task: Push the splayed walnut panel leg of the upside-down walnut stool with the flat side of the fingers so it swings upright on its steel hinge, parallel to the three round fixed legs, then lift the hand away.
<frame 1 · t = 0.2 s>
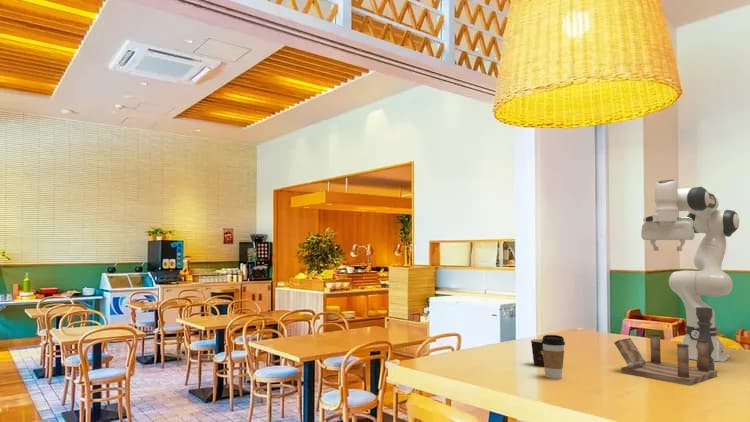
hand: (667, 250, 236), 48 cm above the table, fingers open, 8 cm apart
stool: (668, 374, 218), on the table
hinged leg: (630, 353, 223), point 7 cm above the table, hinge at 35.0°
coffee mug: (545, 366, 231), on the table
coffee cup: (553, 377, 210), on the table
candle holder: (705, 371, 225), on the table
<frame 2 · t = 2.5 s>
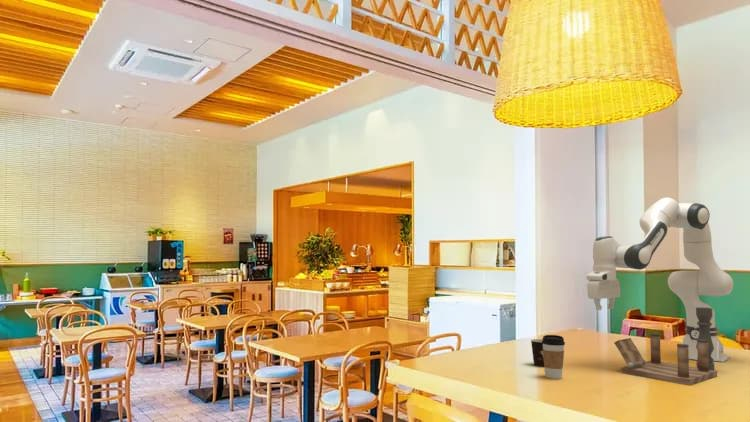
hand: (604, 309, 232), 23 cm above the table, fingers open, 8 cm apart
nothing on the table moved.
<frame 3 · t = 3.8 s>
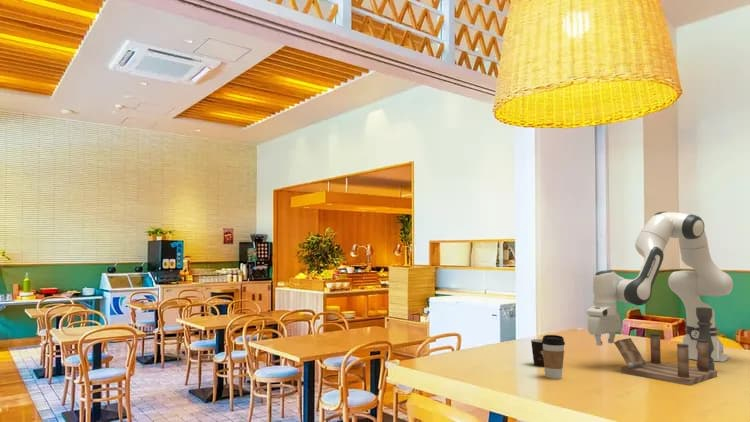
hand: (605, 344, 231), 9 cm above the table, fingers open, 8 cm apart
nothing on the table moved.
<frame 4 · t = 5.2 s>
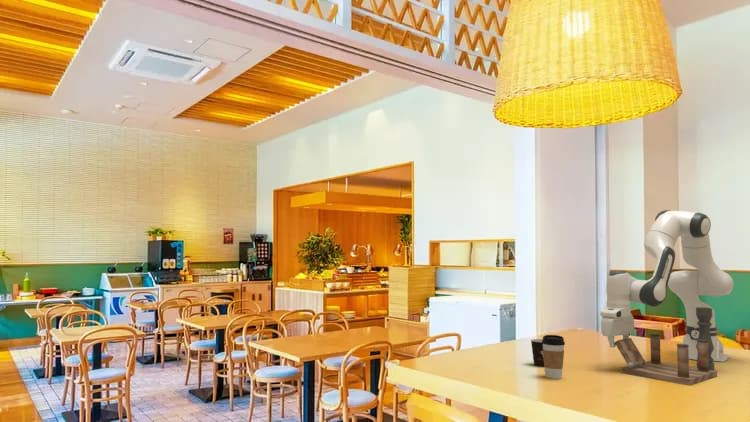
hand: (618, 346, 226), 9 cm above the table
hinged leg: (630, 352, 223), point 7 cm above the table, hinge at 33.9°, touching gripper
everything else where it was.
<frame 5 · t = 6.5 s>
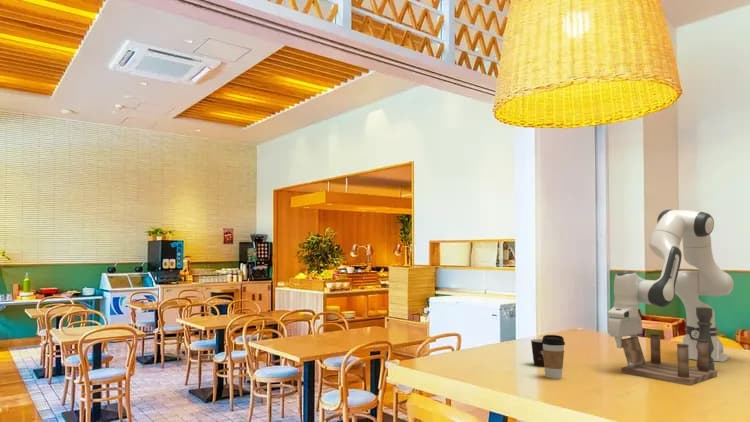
hand: (626, 346, 224), 9 cm above the table
hinged leg: (633, 351, 222), point 8 cm above the table, hinge at 16.8°, touching gripper
everything else where it was.
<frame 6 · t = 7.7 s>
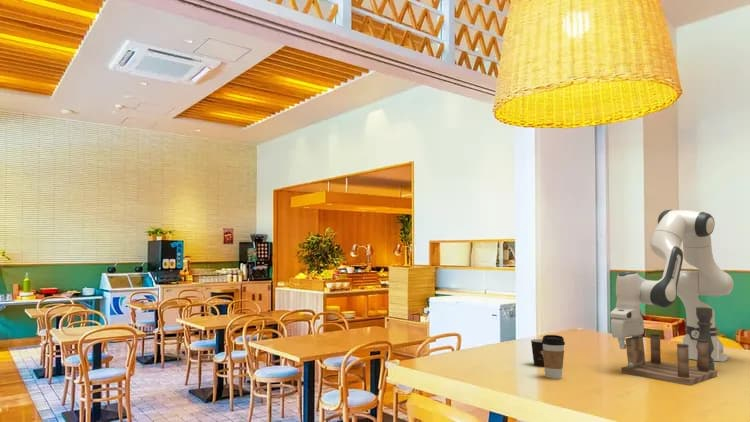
hand: (628, 347, 223), 9 cm above the table, fingers open, 8 cm apart
hinged leg: (635, 351, 221), point 8 cm above the table, hinge at 5.3°
everything else where it was.
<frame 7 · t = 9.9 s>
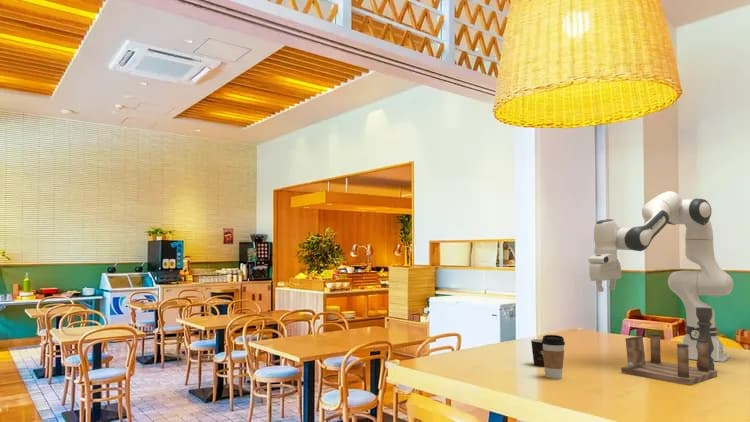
hand: (606, 290, 237), 31 cm above the table, fingers open, 8 cm apart
nothing on the table moved.
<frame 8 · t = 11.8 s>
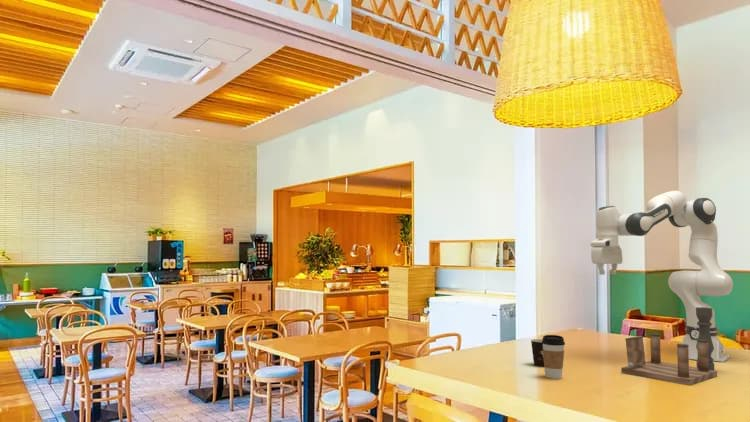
hand: (607, 274, 246), 37 cm above the table, fingers open, 8 cm apart
nothing on the table moved.
at the end: hinged leg at +5° (first picture: +35°); the gripper is holding nothing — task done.
